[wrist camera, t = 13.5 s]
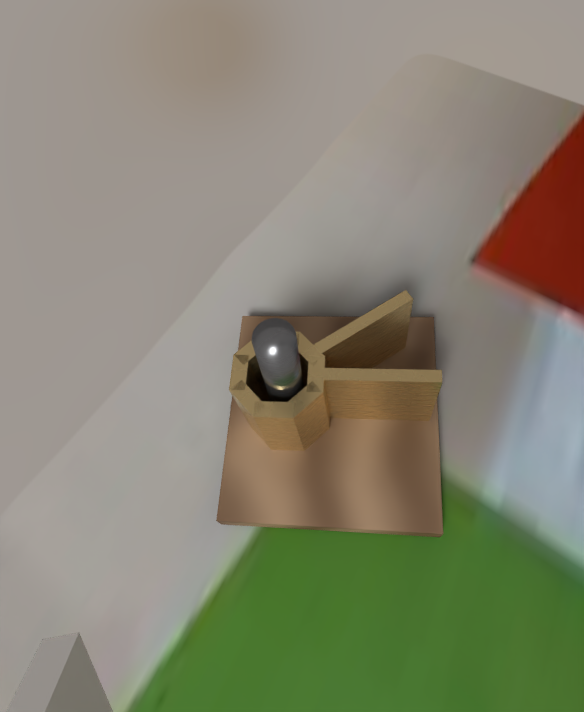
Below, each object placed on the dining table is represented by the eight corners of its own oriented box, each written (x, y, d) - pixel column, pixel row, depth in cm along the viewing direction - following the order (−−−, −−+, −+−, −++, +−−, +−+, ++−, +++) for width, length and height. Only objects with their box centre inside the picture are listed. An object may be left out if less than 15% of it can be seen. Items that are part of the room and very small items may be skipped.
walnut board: (431, 326, 43) (433, 317, 42) (440, 537, 37) (443, 533, 35) (246, 325, 45) (242, 316, 44) (221, 524, 39) (216, 520, 37)
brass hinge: (426, 340, 41) (437, 290, 35) (430, 455, 38) (444, 422, 31) (259, 338, 43) (242, 290, 37) (247, 448, 39) (225, 415, 33)
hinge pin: (308, 397, 40) (297, 318, 30) (306, 428, 39) (294, 359, 29) (276, 395, 41) (254, 317, 30) (273, 426, 40) (249, 357, 29)
